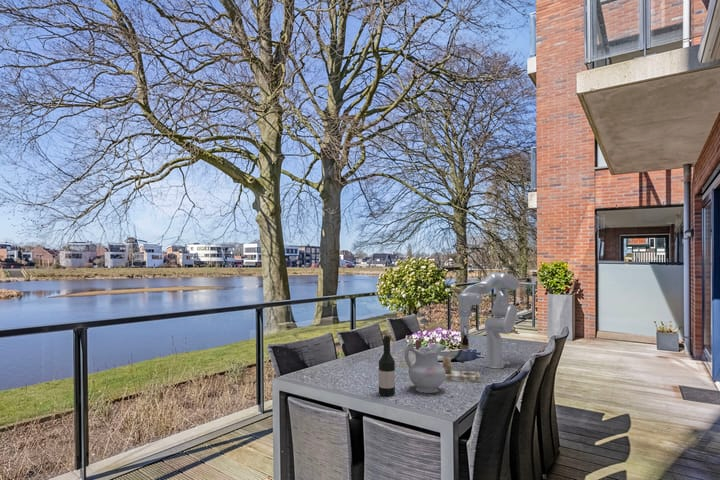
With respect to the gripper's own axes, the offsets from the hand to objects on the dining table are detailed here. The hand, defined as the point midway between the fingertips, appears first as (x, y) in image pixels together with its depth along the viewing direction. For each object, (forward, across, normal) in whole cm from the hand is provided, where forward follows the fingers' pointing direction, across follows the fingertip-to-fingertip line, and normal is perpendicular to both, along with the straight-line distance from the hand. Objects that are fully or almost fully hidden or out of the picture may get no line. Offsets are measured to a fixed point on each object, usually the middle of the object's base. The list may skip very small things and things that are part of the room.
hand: (465, 343), depth 260 cm
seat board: (+18, +11, -5) cm, 22 cm away
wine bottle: (+18, +48, -42) cm, 66 cm away
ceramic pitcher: (+18, +37, -23) cm, 47 cm away
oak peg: (+3, 0, 0) cm, 3 cm away
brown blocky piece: (+18, -5, -26) cm, 32 cm away
